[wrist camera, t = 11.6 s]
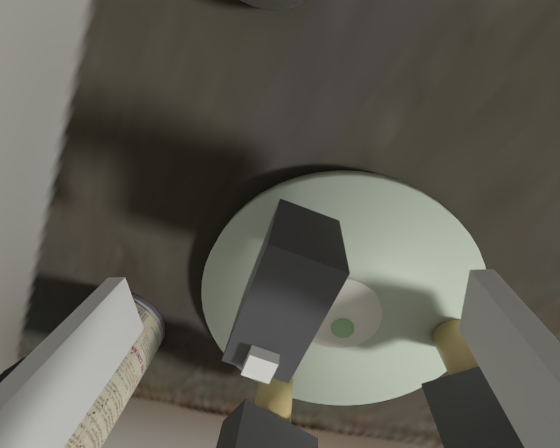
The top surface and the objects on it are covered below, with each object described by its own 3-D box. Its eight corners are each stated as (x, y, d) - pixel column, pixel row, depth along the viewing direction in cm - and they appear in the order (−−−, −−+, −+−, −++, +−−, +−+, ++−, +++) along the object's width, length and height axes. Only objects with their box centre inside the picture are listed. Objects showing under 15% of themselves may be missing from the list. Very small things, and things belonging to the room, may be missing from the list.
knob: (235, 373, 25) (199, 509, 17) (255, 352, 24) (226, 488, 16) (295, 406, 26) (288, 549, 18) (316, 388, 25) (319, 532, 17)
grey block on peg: (491, 304, 20) (609, 449, 12) (505, 335, 21) (623, 489, 13) (403, 335, 22) (456, 481, 14) (419, 363, 23) (478, 514, 15)
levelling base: (223, 139, 19) (214, 145, 17) (534, 208, 19) (559, 222, 17) (197, 361, 27) (188, 381, 26) (413, 409, 27) (421, 433, 26)
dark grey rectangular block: (286, 175, 18) (265, 251, 10) (333, 193, 18) (351, 282, 10) (254, 257, 21) (218, 370, 13) (297, 273, 21) (287, 394, 13)
